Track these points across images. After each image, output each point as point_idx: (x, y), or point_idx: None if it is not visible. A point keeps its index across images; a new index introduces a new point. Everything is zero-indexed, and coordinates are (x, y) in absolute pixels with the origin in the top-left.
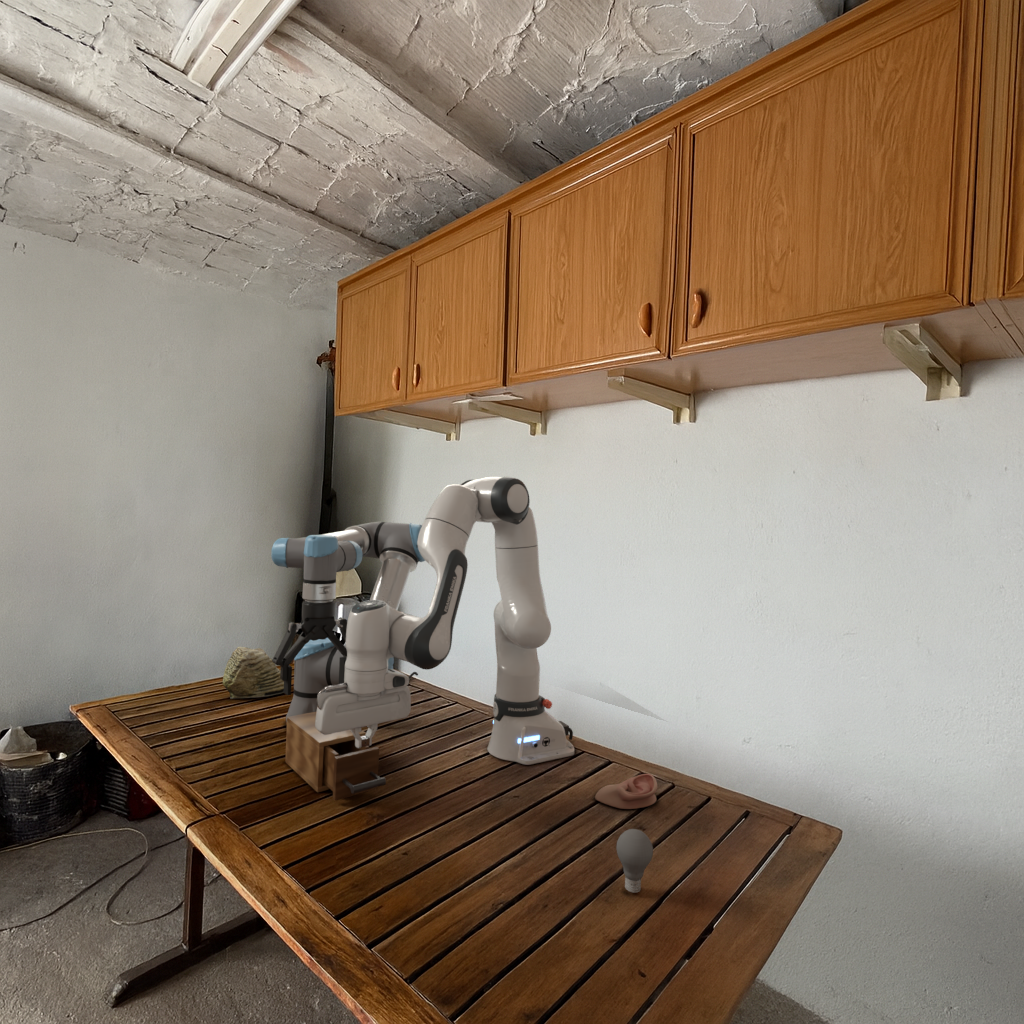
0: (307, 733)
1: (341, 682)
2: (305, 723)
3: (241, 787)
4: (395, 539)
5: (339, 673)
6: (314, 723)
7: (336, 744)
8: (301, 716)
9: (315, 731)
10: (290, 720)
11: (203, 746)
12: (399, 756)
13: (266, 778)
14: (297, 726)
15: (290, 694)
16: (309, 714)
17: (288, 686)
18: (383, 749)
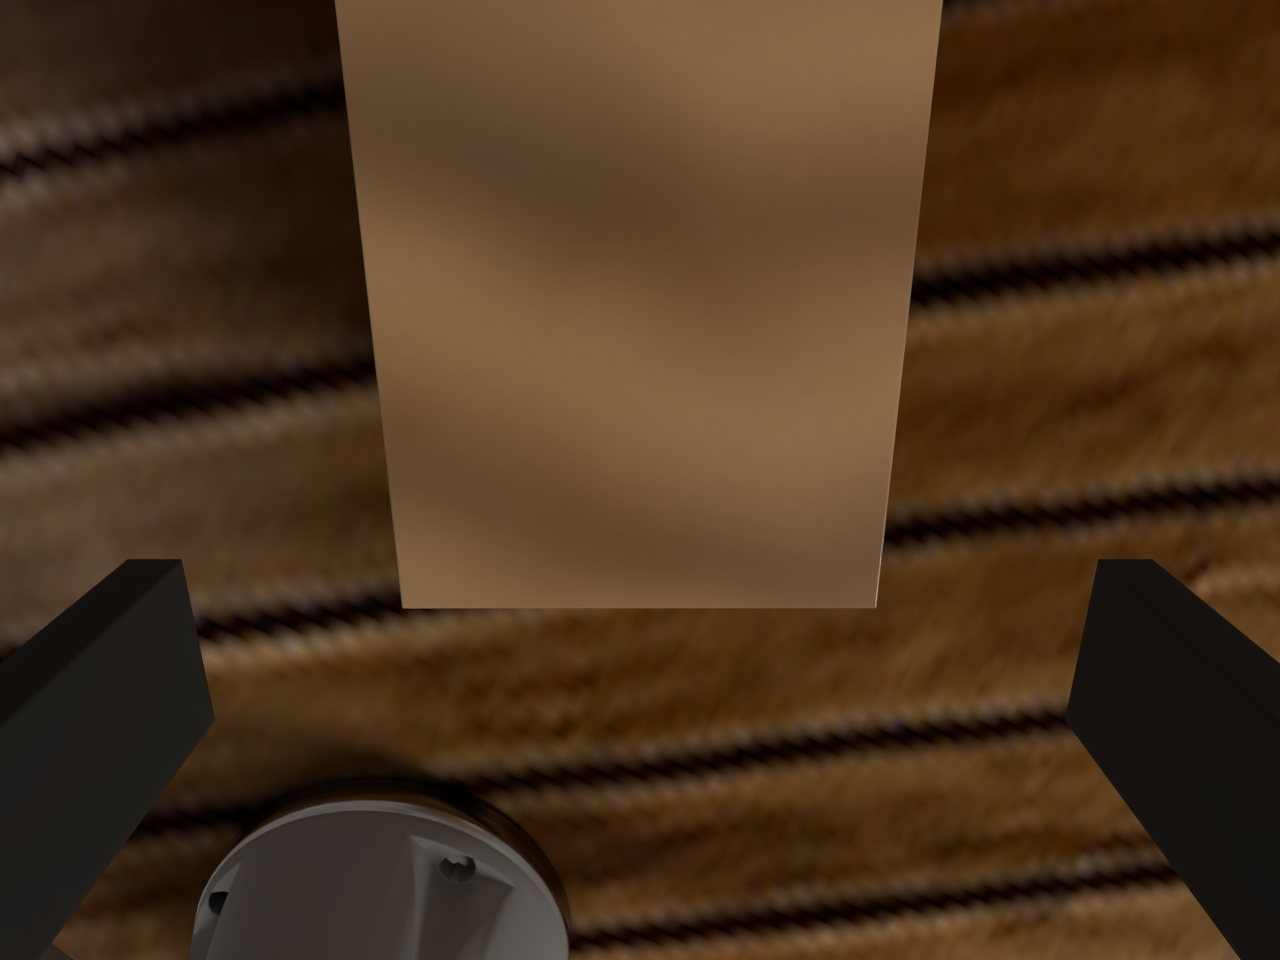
0: (941, 3)
1: (173, 655)
2: (811, 333)
3: (1198, 232)
4: None
5: (117, 827)
6: (728, 281)
7: None
8: (751, 552)
9: (839, 4)
10: (884, 516)
11: (1068, 899)
12: (13, 77)
13: (1008, 277)
14: (904, 321)
15: (1111, 564)
16: (657, 565)
17: (1240, 636)
18: (97, 283)
